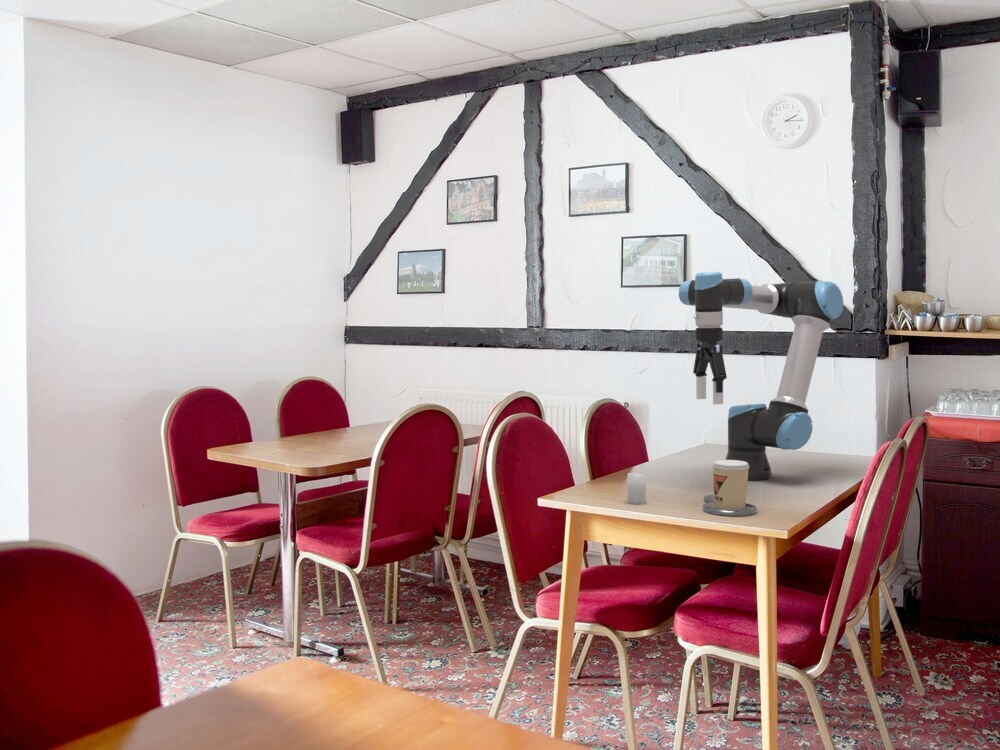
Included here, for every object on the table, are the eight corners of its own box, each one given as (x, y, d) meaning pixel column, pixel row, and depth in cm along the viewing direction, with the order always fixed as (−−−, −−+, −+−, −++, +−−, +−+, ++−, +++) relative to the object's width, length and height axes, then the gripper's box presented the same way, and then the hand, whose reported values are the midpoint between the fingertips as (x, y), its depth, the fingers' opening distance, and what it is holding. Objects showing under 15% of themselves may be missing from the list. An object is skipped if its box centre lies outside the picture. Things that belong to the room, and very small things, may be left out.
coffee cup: (707, 504, 248) (707, 459, 247) (741, 503, 249) (741, 459, 248) (718, 511, 239) (719, 466, 238) (753, 511, 240) (754, 465, 239)
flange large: (745, 504, 252) (745, 500, 252) (764, 515, 238) (764, 511, 238) (695, 505, 251) (695, 501, 251) (712, 517, 237) (712, 513, 237)
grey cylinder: (643, 500, 259) (643, 472, 258) (647, 504, 254) (647, 475, 253) (625, 500, 258) (625, 472, 258) (629, 504, 253) (629, 475, 253)
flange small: (712, 497, 262) (712, 493, 262) (738, 500, 257) (738, 497, 257) (698, 501, 256) (698, 498, 256) (725, 505, 251) (725, 501, 251)
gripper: (681, 326, 273) (682, 397, 274) (711, 328, 248) (712, 407, 250) (706, 325, 274) (706, 396, 275) (738, 327, 249) (739, 406, 251)
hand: (709, 401), depth 263 cm, fingers open, 13 cm apart
